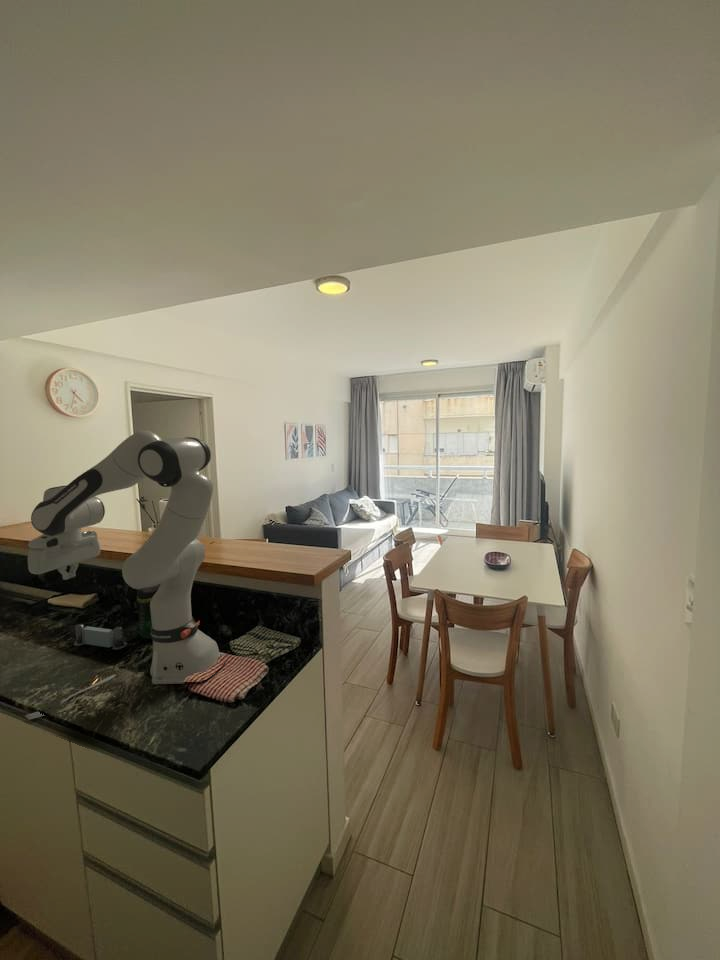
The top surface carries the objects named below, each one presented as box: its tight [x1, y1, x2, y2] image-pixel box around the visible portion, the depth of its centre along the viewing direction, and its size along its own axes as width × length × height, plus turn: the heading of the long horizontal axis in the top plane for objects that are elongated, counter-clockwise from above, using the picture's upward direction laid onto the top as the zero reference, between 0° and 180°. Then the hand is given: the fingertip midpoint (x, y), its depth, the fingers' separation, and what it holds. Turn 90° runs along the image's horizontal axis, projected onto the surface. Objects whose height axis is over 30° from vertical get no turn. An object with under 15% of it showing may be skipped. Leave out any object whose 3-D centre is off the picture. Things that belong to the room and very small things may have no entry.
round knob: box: [73, 623, 85, 647], centre depth 133 cm, size 4×4×6 cm
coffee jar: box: [136, 584, 161, 640], centre depth 137 cm, size 10×8×19 cm
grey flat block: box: [81, 625, 115, 648], centre depth 130 cm, size 12×2×6 cm, turn 74°
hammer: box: [111, 626, 128, 651], centre depth 130 cm, size 7×5×6 cm
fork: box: [24, 674, 117, 720], centre depth 105 cm, size 3×24×2 cm, turn 152°
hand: (69, 578), depth 121 cm, fingers closed
